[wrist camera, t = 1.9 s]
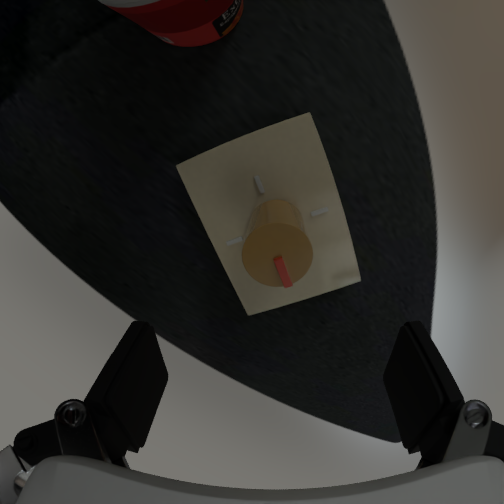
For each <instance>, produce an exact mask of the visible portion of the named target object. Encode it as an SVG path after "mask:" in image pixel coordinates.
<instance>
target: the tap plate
mask: <svg viewBox="0 0 504 504" xmlns="http://www.w3.org/2000/svg"><path fill="white" fill-rule="evenodd" d="M176 167H177V170H178V172H179V174H180V176H181V178H182V181H183V183H184V185H185V187H186V189H187V191H188V194H189V196H190V198H191V200H192V202H193V204H194V206H195V209H196V211H197V213H198V215H199V217H200V219H201V221H202V223H203V225H204V228H205V230H206V232H207V234H208V236H209V238H210V240H211V242H212V244H213V246H214V248H215V250H216V252H217V254H218V256H219V258H220V261H221V263H222V265H223V267H224V269H225V271H226V273H227V275H228V277H229V279H230V281H231V283H232V285H233V287H234V289H235V291H236V293H237V295H238V297H239V299H240V300H241V302H242V304H243V306H244V308H245V310H246V312H247V314H248V316H249V315H253V314H256V313H260V312H263V311H267V310H270V309H274V308H277V307H281V306H284V305H288V304H291V303H294V302H298V301H301V300H304V299H307V298H311V297H314V296H317V295H320V294H323V293H326V292H329V291H332V290H335V289H338V288H341V287H344V286H347V285H350V284H353V283H356V282H359V281H361V277H360V273H359V268H358V264H357V260H356V256H355V252H354V248H353V244H352V240H351V236H350V232H349V228H348V225H347V221H346V218H345V214H344V210H343V207H342V204H341V200H340V197H339V194H338V190H337V187H336V184H335V181H334V178H333V175H332V172H331V169H330V166H329V163H328V160H327V157H326V154H325V151H324V148H323V146H322V143H321V140H320V137H319V135H318V132H317V129H316V127H315V124H314V121H313V119H312V116H311V114H310V113H306V114H303V115H300V116H296V117H293V118H290V119H288V120H285V121H282V122H279V123H276V124H273V125H270V126H268V127H265V128H262V129H260V130H257V131H254V132H252V133H249V134H247V135H244V136H242V137H239V138H237V139H234V140H232V141H229V142H227V143H225V144H222V145H220V146H217V147H215V148H213V149H211V150H208V151H206V152H204V153H202V154H199V155H197V156H195V157H193V158H191V159H189V160H186V161H184V162H182V163H180V164H178V165H176ZM275 199H278V200H284V201H287V202H289V203H291V204H293V205H294V206H295V207H296V208H297V209H298V210H299V211H300V213H301V214H302V217H303V220H304V223H305V226H306V229H307V232H308V235H309V238H310V242H311V245H312V249H313V260H312V264H311V266H310V268H309V270H308V272H307V273H306V274H305V275H304V276H303V277H302V278H301V279H300V280H298V281H297V282H295V283H293V286H291V287H288V288H284V286H283V287H271V286H267V285H264V284H261V283H259V282H258V281H256V280H255V279H253V278H252V277H251V276H250V275H249V274H248V272H247V271H246V269H245V267H244V265H243V262H242V248H243V244H244V239H245V235H246V231H247V227H248V223H249V219H250V216H251V214H252V212H253V211H254V209H255V208H256V207H257V206H259V205H260V204H262V203H263V202H266V201H269V200H275Z"/></svg>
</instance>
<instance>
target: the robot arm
mask: <svg viewBox="0 0 504 504" xmlns="http://www.w3.org/2000/svg"><path fill="white" fill-rule="evenodd" d="M167 381H168V372H167V369H166V366H165V363H164V360H163V357H162V354H161V351H160V347H159V344H158V341H157V338H156V334H155V331H154V328H153V327H152V326H150V325H149V323H148V322H142V321H133V322H132V323H131V325H130V326H129V328H128V329H127V331H126V333H125V334H124V336H123V338H122V339H121V340H120V342H119V344H118V345H117V347H116V348H115V350H114V352H113V353H112V354H111V356H110V358H109V359H108V361H107V362H106V364H105V366H104V367H103V369H102V371H101V372H100V374H99V376H98V377H97V379H96V381H95V383H94V384H93V386H92V387H91V389H90V391H89V393H88V394H87V396H86V398H85V400H84V402H83V401H81V400H78V399H70V400H67V401H64V402H63V403H61V404H60V405H59V406H58V408H57V409H56V411H55V414H54V419H53V420H49V421H47V422H44V423H41V424H38V425H35V426H32V427H29V428H27V429H24V430H22V431H20V432H19V433H18V434H17V435H16V437H15V440H14V446H13V447H12V446H11V445H9V446H7V447H6V448H4V449H3V450H2V451H0V504H504V425H501V424H499V423H497V422H495V421H492V413H491V410H490V408H489V407H488V406H487V405H486V404H485V403H484V402H482V401H480V400H470V401H468V402H466V403H465V401H464V398H463V396H462V394H461V392H460V390H459V388H458V386H457V384H456V382H455V380H454V378H453V376H452V374H451V372H450V371H449V369H448V367H447V365H446V363H445V362H444V360H443V358H442V356H441V354H440V353H439V351H438V349H437V347H436V346H435V344H434V342H433V341H432V339H431V337H430V336H429V334H428V332H427V331H426V329H425V328H424V326H423V324H422V323H421V322H420V321H411V322H406V323H405V324H404V326H402V327H401V328H400V330H399V333H398V336H397V339H396V342H395V345H394V348H393V351H392V353H391V356H390V359H389V361H388V364H387V367H386V369H385V372H384V375H383V381H384V384H385V387H386V390H387V393H388V396H389V399H390V403H391V406H392V409H393V412H394V415H395V419H396V422H397V426H398V429H399V433H400V436H401V440H402V443H403V446H404V448H406V449H408V452H409V454H412V453H415V452H419V451H420V452H421V456H422V458H421V460H420V462H419V464H418V466H417V468H416V469H415V471H411V472H407V473H404V474H399V475H395V476H391V477H386V478H382V479H377V480H372V481H367V482H361V483H355V484H349V485H341V486H333V487H323V488H310V489H288V490H263V489H241V488H229V487H219V486H209V485H203V484H196V483H190V482H184V481H179V480H174V479H168V478H164V477H160V476H155V475H151V474H147V473H143V472H139V471H135V470H131V469H130V467H129V465H128V463H127V461H126V459H125V454H126V451H127V450H128V451H132V452H135V453H138V451H139V448H140V447H141V448H142V447H143V446H144V444H145V442H146V439H147V436H148V433H149V431H150V428H151V425H152V422H153V419H154V417H155V414H156V411H157V408H158V405H159V403H160V400H161V397H162V395H163V392H164V389H165V387H166V384H167Z"/></svg>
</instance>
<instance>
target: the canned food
mask: <svg viewBox="0 0 504 504" xmlns="http://www.w3.org/2000/svg"><path fill="white" fill-rule="evenodd" d="M99 1H100V2H101V3H103V4H105V5H107V6H108V7H109V8H111V9H113V10H115V11H116V12H118V13H120V14H122V15H123V16H125V17H127V18H128V19H130V20H132V21H133V22H135V23H137V24H138V25H140V26H141V27H143V28H145V29H146V30H148V31H149V32H151V33H152V34H154V35H155V36H157V37H158V38H160V39H161V40H163V41H165V42H166V43H169V44H172V45H176V46H182V47H195V46H202V45H206V44H209V43H212V42H214V41H217V40H219V39H220V38H222V37H224V36H225V35H227V34H228V33H229V32H230V31H231V30H232V29H233V28H234V27H235V25H236V24H237V23H238V21H239V19H240V17H241V15H242V11H243V0H99Z"/></svg>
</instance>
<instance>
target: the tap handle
mask: <svg viewBox="0 0 504 504" xmlns="http://www.w3.org/2000/svg"><path fill="white" fill-rule="evenodd" d="M312 260H313V249H312V245H311V242H310V238H309V235H308V232H307V229H306V226H305V223H304V220H303V217H302V214H301V213H300V211H299V210H298V209H297V208H296V207H295V206H294V205H293V204H291V203H289V202H287V201H284V200H278V199H275V200H269V201H266V202H263V203H262V204H260V205H259V206H257V207H256V208H255V209H254V211H253V212H252V214H251V216H250V219H249V223H248V227H247V231H246V235H245V239H244V244H243V248H242V262H243V265H244V267H245V269H246V271H247V272H248V274H249V275H250V276H251V277H252V278H253V279H255V280H256V281H258V282H259V283H261V284H264V285H267V286H271V287H283V286H284V288H288V287H291V286H293V283H295V282H297V281H298V280H300V279H301V278H302V277H303V276H304V275H305V274H306V273H307V272H308V270H309V268H310V266H311V264H312Z"/></svg>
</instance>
